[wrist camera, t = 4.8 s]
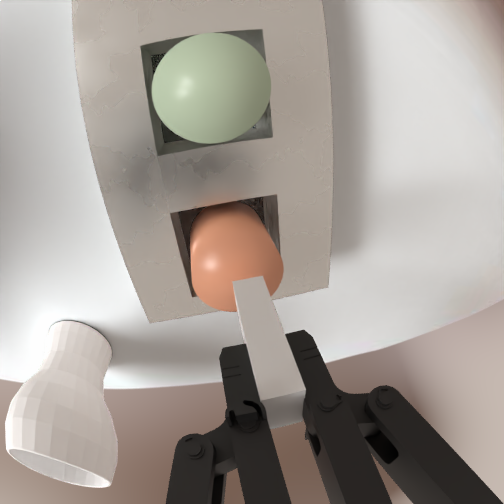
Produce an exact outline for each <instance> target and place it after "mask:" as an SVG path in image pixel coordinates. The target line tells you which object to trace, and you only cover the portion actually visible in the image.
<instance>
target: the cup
mask: <svg viewBox="0 0 504 504" xmlns="http://www.w3.org/2000/svg"><path fill="white" fill-rule="evenodd" d="M111 357H112V349H111V347H110V344H109V343H108V341H107V340H106V339H105V337H104V336H102V335H101V334H100V333H99V332H98V331H96V330H95V329H93V328H91V327H90V326H87V325H85V324H82V323H79V322H75V321H61V322H57V323H55V324H54V325H52V326H51V328H50V330H49V333H48V337H47V342H46V349H45V357H44V359H43V361H42V363H41V365H40V367H39V369H38V371H37V373H36V374H35V375H34V376H32V377H31V378H30V379H29V380H27V381H26V382H25V383H24V384H23V385H22V386H21V388H20V390H19V391H18V392H17V393H16V395H15V397H14V398H13V399H12V401H11V403H10V407H9V410H8V414H7V418H6V422H5V425H6V426H5V428H6V449H7V451H8V453H9V454H10V455H11V456H12V457H13V458H14V459H16V460H17V461H19V462H20V463H21V464H23V465H25V466H27V467H28V468H30V469H32V470H34V471H36V472H39V473H41V474H43V475H46V476H49V477H51V478H54V479H57V480H60V481H63V482H67V483H71V484H75V485H80V486H86V487H108V486H109V485H111V483H112V479H113V476H114V472H115V468H116V464H117V454H118V452H117V450H118V441H117V437H116V433H115V429H114V425H113V421H112V417H111V414H110V412H109V410H108V407H107V405H106V403H105V400H104V389H103V380H104V377H105V374H106V371H107V369H108V366H109V363H110V360H111Z"/></svg>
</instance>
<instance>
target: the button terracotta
mask: <svg viewBox="0 0 504 504" xmlns="http://www.w3.org/2000/svg"><path fill="white" fill-rule="evenodd" d="M190 254H191V276H192V285H193V288H194V291H195V292H196V294H197V296H198V297H199V298H200V299H201V300H202V301H203V302H204V303H206V304H207V305H209V306H210V307H212V308H215V309H218V310H222V311H229V312H236V311H237V306H236V300H235V295H234V289H233V283H232V281H237V280H243V279H248V278H253V277H258V276H263V278H264V281H265V283H266V286H267V288H268V291H269V294H270V296H272V295H273V294H274V293H275V291H276V290H277V289H278V287H279V285H280V283H281V281H282V278H283V272H284V267H283V261H282V258H281V256H280V254H279V252H278V250H277V248H276V246H275V244H274V243H273V241H272V239H271V237H270V235H269V233H268V232H267V230H266V228H265V226H264V224H263V222H262V221H261V219H260V217H259V215H258V214H257V213H256V212H255V210H254V209H252V208H251V207H250V206H248V205H246V204H244V203H242V202H238V201H232V202H227V203H221V204H215V205H210V206H207V207H206V208H205V209H203V210H202V211H201V212H200V213H199V214H198V215H197V216H196V218H195V219H194V221H193V223H192V226H191V229H190Z"/></svg>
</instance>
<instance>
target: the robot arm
mask: <svg viewBox="0 0 504 504" xmlns="http://www.w3.org/2000/svg"><path fill="white" fill-rule="evenodd" d="M232 283H233V289H234V295H235V300H236V306H237V311H238V317H239V322H240V326H241V331H242V335H243V339H244V344H241V345H236V346H231V347H225V348H223V349H222V352H221V355H220V358H219V359H220V366H221V372H222V378H223V385H224V391H225V396H226V403H227V409H226V412H225V418H226V420H225V421H224V423H223V424H222V425H221V426H219V427H218V428H216V429H215V430H213V431H210V432H208V433H206V434H204V435H201V434H189V435H186V436H184V437H182V439H181V440H179V441H178V444H177V446H176V449H175V454H174V459H173V465H172V470H171V476H170V481H169V488H168V493H167V499H166V504H224V497H225V486H226V476H227V472H229V471H232V470H234V469H236V468H238V473H239V477H240V483H241V487H242V491H243V496H244V500H245V504H291V501H290V497H289V494H288V490H287V487H286V484H285V480H284V477H283V473H282V470H281V466H280V463H279V459H278V456H277V453H276V449H275V445H274V442H273V438H272V435H271V431H270V429H274V428H278V427H282V426H286V425H290V424H294V423H298V422H302V421H303V419H304V422H305V424H306V432H305V440H307V439H308V440H309V443H310V446H311V449H312V452H313V454H314V457H315V460H316V463H317V466H318V469H319V472H320V475H321V478H322V481H323V483H324V486H325V489H326V492H327V495H328V498H329V500H330V503H331V504H392V502H391V500H390V497H389V495H388V492H387V490H386V488H385V485H384V483H383V481H382V478H381V476H380V474H379V472H378V469H377V467H376V464H375V462H374V460H373V458H372V455H373V456H374V457H375V459H376V460H377V461H378V462H379V464H380V465H381V466H382V467H383V468H384V469H385V471H386V472H387V473H388V474H389V476H390V477H391V478H392V479H393V480H394V481H395V483H396V484H397V485H398V486H399V487H400V488H401V490H402V491H403V492H404V493H405V494H406V496H407V497H408V498H409V499H410V500H411V501H412V503H413V504H503V503H502V502H501V500H500V499H499V498H498V497H497V496H496V495H495V494H494V493H493V492H492V491H491V490H490V488H488V486H487V485H486V484H485V483H484V482H483V481H482V480H481V479H480V478H479V477H478V475H477V474H476V473H475V472H474V471H473V470H472V469H471V468H470V467H469V466H468V465H467V464H466V463H465V462H464V460H463V459H462V458H461V457H460V456H459V455H458V454H457V453H456V452H455V451H454V450H453V449H452V448H451V447H450V446H449V444H448V443H447V442H446V441H445V440H444V439H443V438H442V437H441V436H440V435H439V434H438V433H437V432H436V431H435V430H434V428H433V427H432V426H431V425H430V424H429V423H428V422H427V421H426V420H425V419H424V418H423V417H422V416H421V415H420V414H419V413H418V412H417V411H416V409H415V408H414V407H413V406H412V405H411V404H410V403H409V402H408V401H407V400H406V399H405V398H404V397H403V396H402V395H401V394H400V393H399V392H398V391H397V390H396V389H394V388H393V387H390V386H387V385H386V386H379V387H377V388H374V389H373V390H372V391H371V392H370V393H366V394H348V393H345V392H343V391H341V390H339V389H338V388H337V387H336V386H335V384H334V382H333V380H332V378H331V376H330V374H329V372H328V369H327V367H326V365H325V363H324V361H323V358H322V356H321V354H320V352H319V350H318V349H317V346H316V343H315V341H314V339H313V337H312V336H311V335H310V334H308V333H307V332H306V331H305V330H301V331H297V332H293V333H289V334H285V333H284V330H283V328H282V325H281V323H280V320H279V317H278V315H277V312H276V309H275V307H274V304H273V302H272V299H271V296H270V294H269V291H268V288H267V286H266V283H265V281H264V278H263V276H258V277H253V278H248V279H243V280H237V281H232ZM371 454H372V455H371Z"/></svg>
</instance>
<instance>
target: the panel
mask: <svg viewBox="0 0 504 504" xmlns="http://www.w3.org/2000/svg"><path fill="white" fill-rule="evenodd" d="M72 23H73V40H74V52H75V62H76V71H77V79H78V86H79V92H80V99H81V105H82V111H83V116H84V121H85V126H86V131H87V136H88V141H89V145H90V150H91V154H92V158H93V162H94V166H95V170H96V174H97V178H98V181H99V185H100V189H101V192H102V196H103V199H104V202H105V206H106V209H107V212H108V215H109V219H110V222H111V225H112V228H113V231H114V234H115V237H116V240H117V243H118V245H119V248H120V251H121V254H122V256H123V259H124V262H125V265H126V267H127V270H128V272H129V275H130V278H131V280H132V283H133V285H134V288H135V290H136V292H137V295H138V297H139V300H140V302H141V304H142V307H143V309H144V311H145V313H146V316H147V318H148V320H149V322H150V323H154V322H160V321H166V320H172V319H178V318H184V317H189V316H195V315H200V314H206V313H211V312H216V311H222V310H218V309H215V308H212V307H210V306H209V305H207V304H206V303H204V302H203V301H202V300H201V299H200V298H199V297H198V296H197V294H196V292H195V291H194V288H193V285H192V276H191V263H190V260H189V256H188V252H187V247H186V243H185V239H184V235H183V231H182V226H181V222H180V218H179V213H178V212H179V211H184V210H189V209H194V208H199V207H205V206H210V205H215V204H221V203H227V202H232V201H238V200H244V199H250V198H256V197H262V198H263V210H264V222H265V228H266V230H267V232H268V233H269V235H270V237H271V239H272V241H273V243H274V244H275V246H276V248H277V250H278V252H279V254H280V256H281V258H282V261H283V267H284V272H283V278H282V281H281V283H280V285H279V287H278V289H277V290H276V291H275V293H274V294H273V295H272V296H271V299H272V300H275V299H279V298H284V297H288V296H293V295H297V294H301V293H306V292H310V291H314V290H318V289H322V288H326V287H328V283H329V270H330V255H331V237H332V212H333V123H332V99H331V82H330V68H329V56H328V45H327V36H326V27H325V19H324V11H323V4H322V0H72ZM204 33H223V34H229V35H232V36H235V37H238V38H240V39H242V40H244V41H246V42H247V43H249V44H250V45H251V46H252V47H254V48H255V49H256V50H257V51H258V52H259V54H260V55H261V56H262V58H263V59H264V61H265V63H266V65H267V67H268V70H269V73H270V78H271V95H270V99H269V103H268V105H267V108H266V110H265V112H264V113H263V115H262V117H261V118H260V119H259V121H258V122H257V123H256V128H255V129H249V130H248V131H247V132H245V133H244V134H242V135H241V136H238V137H236V138H234V139H232V140H229V141H225V142H221V143H212V144H209V143H198V142H193V141H190V140H187V139H183V140H178V141H173V142H168V143H164V139H163V133H162V127H161V121H160V117H159V116H158V114H157V112H156V109H155V107H154V104H153V99H152V81H153V77H154V75H153V67H152V59H151V56H154V55H158V54H163V53H167V52H168V51H169V50H170V49H171V48H173V47H174V46H175V45H176V44H178V43H180V42H181V41H183V40H185V39H187V38H189V37H192V36H195V35H199V34H204Z"/></svg>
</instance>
